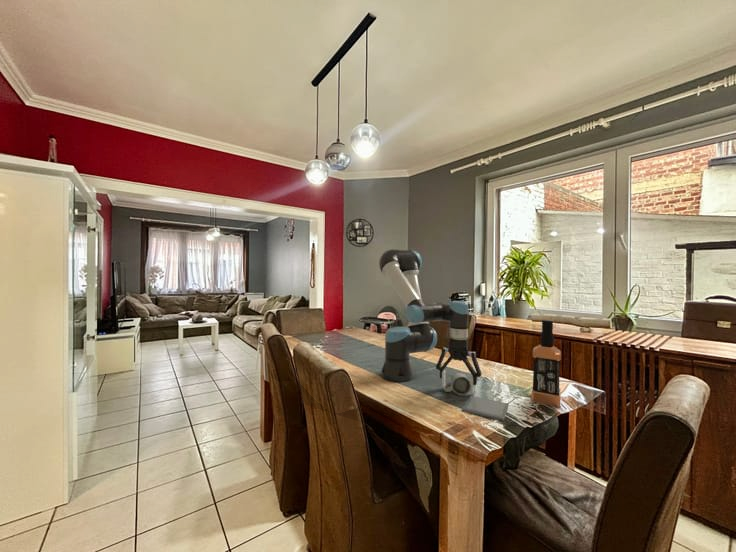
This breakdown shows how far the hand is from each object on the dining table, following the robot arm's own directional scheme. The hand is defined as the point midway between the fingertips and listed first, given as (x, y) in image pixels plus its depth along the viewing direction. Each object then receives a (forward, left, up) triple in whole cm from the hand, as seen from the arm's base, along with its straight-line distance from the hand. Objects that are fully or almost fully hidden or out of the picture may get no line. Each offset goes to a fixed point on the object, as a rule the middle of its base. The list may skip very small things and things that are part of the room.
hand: (457, 389), depth 129 cm
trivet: (+13, -10, -1) cm, 17 cm away
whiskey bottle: (+32, +11, -1) cm, 34 cm away
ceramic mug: (0, 0, -1) cm, 1 cm away
